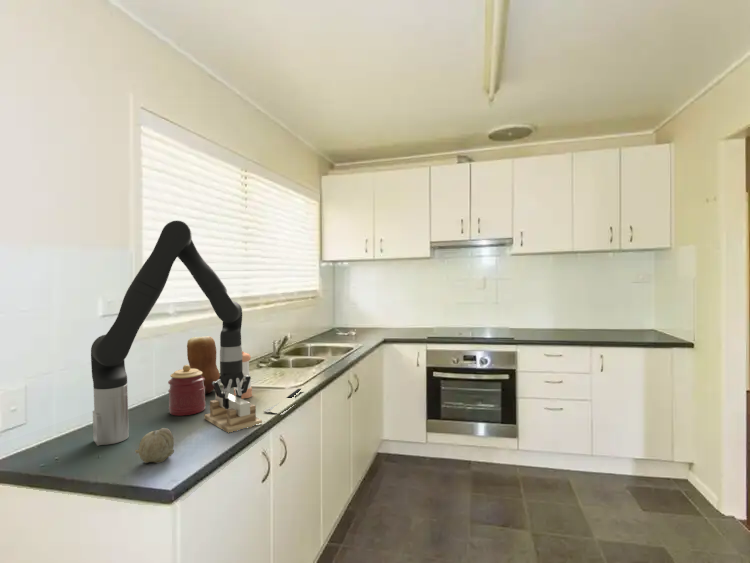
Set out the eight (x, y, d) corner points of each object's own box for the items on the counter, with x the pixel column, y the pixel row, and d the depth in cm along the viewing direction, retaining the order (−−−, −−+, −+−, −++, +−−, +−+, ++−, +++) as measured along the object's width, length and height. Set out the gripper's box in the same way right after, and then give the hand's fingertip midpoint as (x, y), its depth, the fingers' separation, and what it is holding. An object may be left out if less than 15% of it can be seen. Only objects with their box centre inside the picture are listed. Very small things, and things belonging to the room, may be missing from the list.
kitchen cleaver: (287, 413, 163) (262, 408, 165) (286, 418, 163) (261, 413, 165) (316, 391, 193) (294, 387, 195) (315, 395, 193) (294, 391, 195)
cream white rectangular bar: (250, 414, 150) (249, 402, 150) (240, 416, 148) (240, 404, 148) (224, 401, 165) (224, 391, 165) (215, 403, 163) (215, 393, 162)
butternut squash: (200, 388, 202) (199, 333, 202) (226, 390, 199) (225, 334, 198) (179, 396, 189) (178, 338, 188) (206, 398, 185) (205, 339, 185)
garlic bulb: (171, 463, 128) (183, 429, 130) (162, 471, 120) (175, 434, 122) (138, 455, 127) (151, 420, 129) (127, 463, 119) (141, 425, 121)
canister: (192, 417, 162) (191, 369, 161) (161, 415, 164) (159, 368, 164) (212, 406, 175) (211, 361, 174) (183, 404, 177) (181, 360, 177)
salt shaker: (238, 400, 183) (237, 353, 182) (231, 396, 188) (230, 351, 188) (254, 396, 188) (253, 351, 187) (247, 393, 193) (246, 349, 192)
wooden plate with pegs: (261, 424, 153) (261, 405, 153) (228, 433, 145) (228, 413, 145) (236, 411, 168) (235, 394, 168) (204, 418, 160) (204, 400, 160)
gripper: (245, 354, 163) (246, 400, 164) (206, 360, 154) (208, 409, 154) (254, 357, 158) (255, 405, 158) (215, 363, 148) (216, 414, 149)
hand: (232, 407), depth 156 cm, fingers closed on cream white rectangular bar, 3 cm apart
